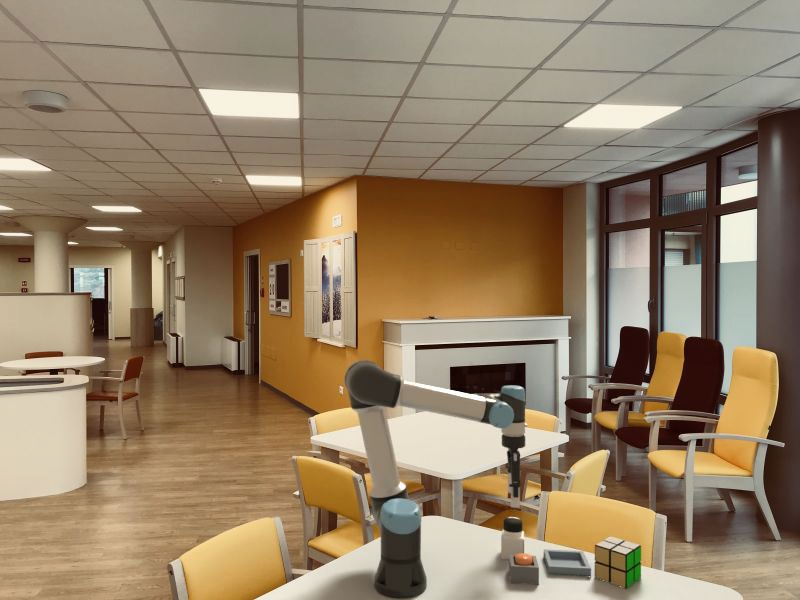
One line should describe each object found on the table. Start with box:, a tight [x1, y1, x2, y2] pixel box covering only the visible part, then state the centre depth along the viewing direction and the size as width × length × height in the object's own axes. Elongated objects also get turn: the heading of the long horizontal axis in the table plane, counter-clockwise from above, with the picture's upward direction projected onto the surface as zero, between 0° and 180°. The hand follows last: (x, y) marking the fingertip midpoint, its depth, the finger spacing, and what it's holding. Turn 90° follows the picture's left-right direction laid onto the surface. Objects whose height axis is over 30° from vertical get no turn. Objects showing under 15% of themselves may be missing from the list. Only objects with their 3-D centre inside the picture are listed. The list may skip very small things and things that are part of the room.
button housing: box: [508, 555, 540, 586], centre depth 182 cm, size 8×8×5 cm
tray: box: [543, 549, 592, 578], centre depth 190 cm, size 12×12×2 cm
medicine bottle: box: [500, 516, 525, 561], centre depth 197 cm, size 7×7×12 cm
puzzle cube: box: [594, 536, 642, 589], centre depth 182 cm, size 10×10×10 cm
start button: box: [515, 552, 533, 566], centre depth 182 cm, size 5×5×2 cm
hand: (513, 499), depth 197 cm, fingers open, 13 cm apart
